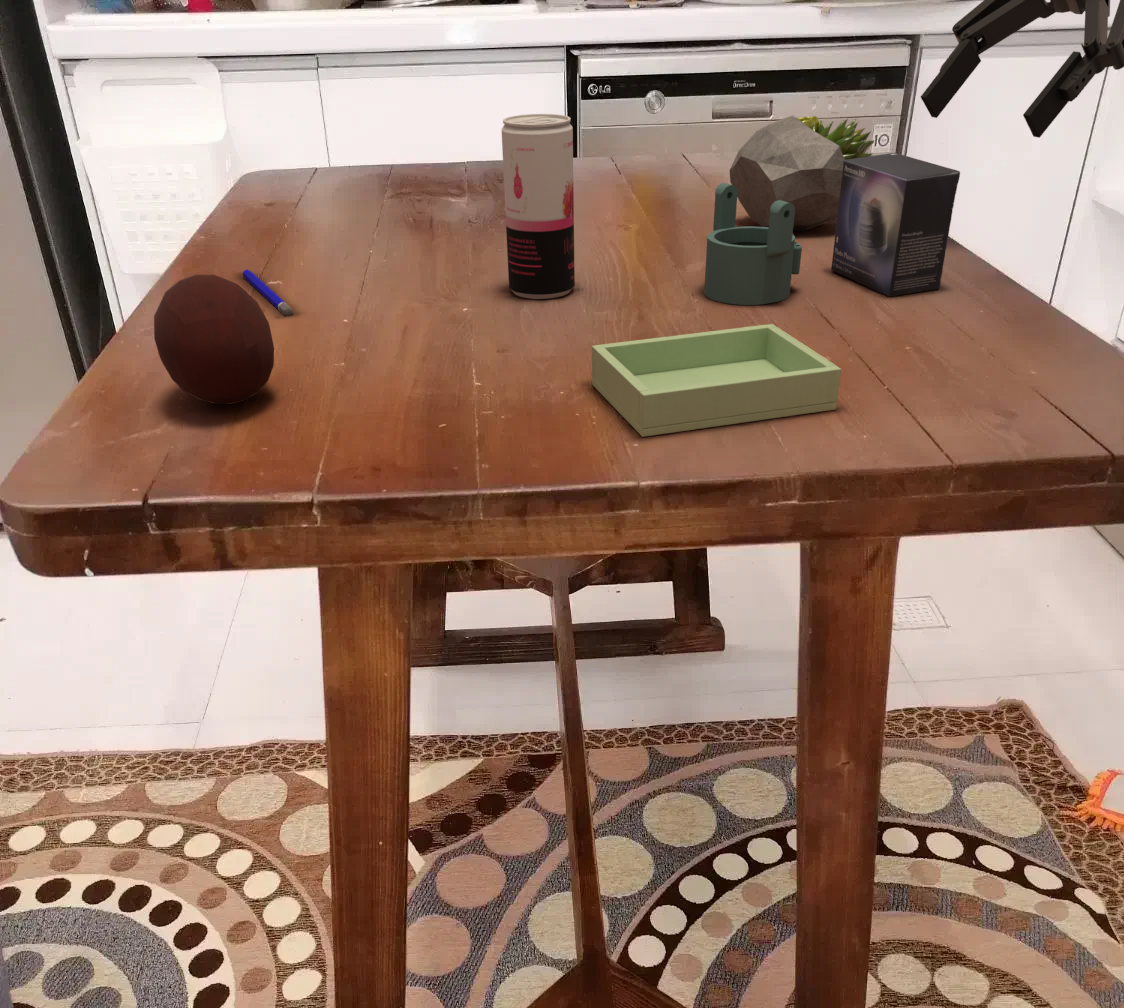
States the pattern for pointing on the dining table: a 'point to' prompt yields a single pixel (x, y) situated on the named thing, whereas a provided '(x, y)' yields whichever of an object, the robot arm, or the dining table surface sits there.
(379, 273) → the dining table surface
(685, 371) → the tray
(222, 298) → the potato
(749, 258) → the bracket
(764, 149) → the potted plant
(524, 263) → the beverage can
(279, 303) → the pencil
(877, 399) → the dining table surface
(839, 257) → the small box
